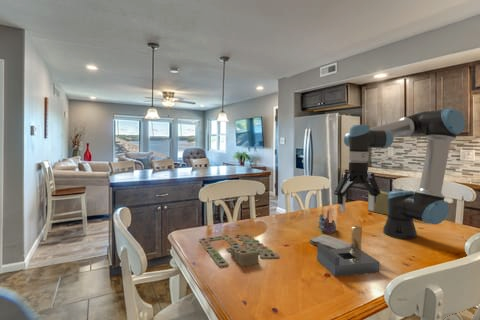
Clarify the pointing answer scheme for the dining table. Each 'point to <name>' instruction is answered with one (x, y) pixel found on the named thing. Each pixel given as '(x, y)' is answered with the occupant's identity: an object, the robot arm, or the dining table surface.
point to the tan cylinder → (356, 237)
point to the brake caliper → (326, 224)
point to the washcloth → (330, 242)
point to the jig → (346, 261)
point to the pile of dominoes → (239, 250)
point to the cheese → (381, 203)
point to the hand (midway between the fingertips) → (356, 211)
